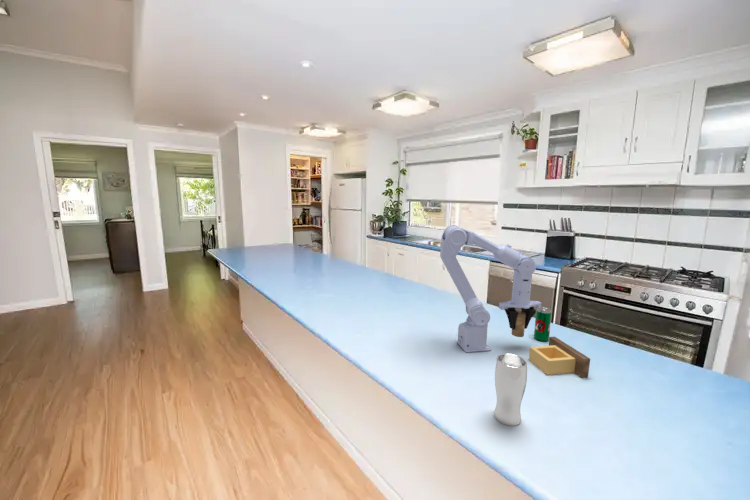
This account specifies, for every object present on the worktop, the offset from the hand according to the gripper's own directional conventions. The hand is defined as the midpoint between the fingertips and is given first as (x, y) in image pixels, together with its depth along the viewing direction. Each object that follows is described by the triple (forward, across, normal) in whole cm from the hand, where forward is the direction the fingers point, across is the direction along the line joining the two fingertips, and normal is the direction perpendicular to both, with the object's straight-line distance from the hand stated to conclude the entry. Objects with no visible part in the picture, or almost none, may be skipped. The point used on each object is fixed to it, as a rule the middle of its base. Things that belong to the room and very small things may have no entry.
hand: (518, 327), depth 113 cm
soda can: (+8, +13, +5) cm, 16 cm away
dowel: (+2, 0, 0) cm, 2 cm away
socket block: (+7, +4, -13) cm, 15 cm away
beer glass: (+8, -23, -33) cm, 41 cm away
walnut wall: (+7, +9, -13) cm, 17 cm away
